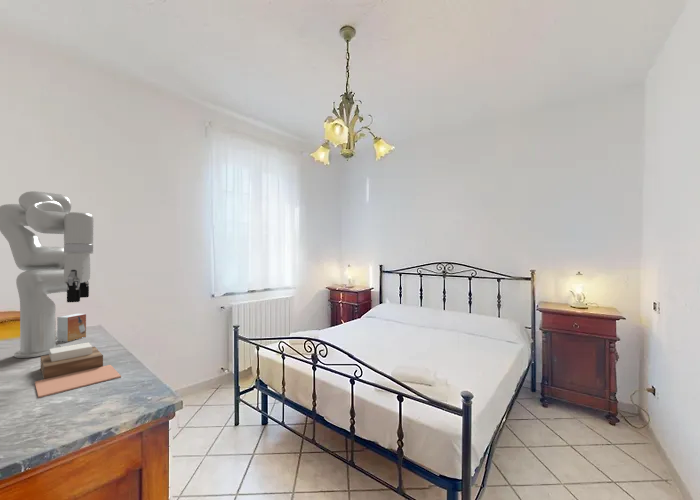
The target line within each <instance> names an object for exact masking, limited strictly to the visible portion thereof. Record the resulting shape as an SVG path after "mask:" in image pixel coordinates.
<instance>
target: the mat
mask: <svg viewBox="0 0 700 500" xmlns="http://www.w3.org/2000/svg"><path fill="white" fill-rule="evenodd" d="M119 378H122V375H121V374H120V373H119V372H118V371H117V370H116V368H114V366H112V365H111V364H106V365H103V366H102V367H98V368H93V369H89V370H84V371H80V372H75V373H71V374H66V375H62V376H57V377H53V378H48V379H44V378H43V379H40V380H36V381H34V385H35V389H36V394H37V397H38V399H39V398H44V397H47V396H51V395H55V394H60V393H63V392H67V391H71V390H76V389H80V388H84V387H88V386H91V385H95V384H99V383H103V382H106V381H107V382H108V381H110V380H116V379H119Z"/></svg>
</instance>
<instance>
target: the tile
mask: <svg viewBox="0 0 700 500" xmlns="http://www.w3.org/2000/svg"><path fill="white" fill-rule="evenodd" d="M92 347H93V345H92V344H91V343H90V342H89V341H88V342H82V343H77V344H72V345H70V344H69V345H65V346H61V347H58V348H53V349H49V354H48V355H49V357H50V359H51V361H52V362H53V361H58V360H63V359H68V358H73V357H79V356H84V355H89V354H92Z"/></svg>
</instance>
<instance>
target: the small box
mask: <svg viewBox="0 0 700 500" xmlns="http://www.w3.org/2000/svg"><path fill="white" fill-rule="evenodd" d="M56 319H57V323H56V325H57V328H56V329H57V330H56V331H57V336H56V337H57V340H56V341H57V342H62V341H63V342H65V343H67V342H68V343H69V342H71V341H76V340H79V338H80V339H83V338H82V337H85V338H86V337H87V314H86V313H74V314H68V315H63V316H62V315H61V316H58V317H57V318H56ZM75 339H76V340H75ZM63 342H62V343H63Z"/></svg>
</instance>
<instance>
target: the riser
mask: <svg viewBox="0 0 700 500" xmlns="http://www.w3.org/2000/svg"><path fill="white" fill-rule="evenodd" d="M102 366H104V355H103V354H102V352H101V351H100V350H98V348H97V347H96V346H92V354H89V355H84V356H79V357H73V358H68V359H63V360H58V361H53V362H52V361H51V359H50V357H49V354H47V355H42V356H40V371H41V375H42V377H43V380H44V379H48V378H53V377H57V376H62V375H66V374H71V373H75V372H80V371H84V370H89V369H93V368H98V367H102Z"/></svg>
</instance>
